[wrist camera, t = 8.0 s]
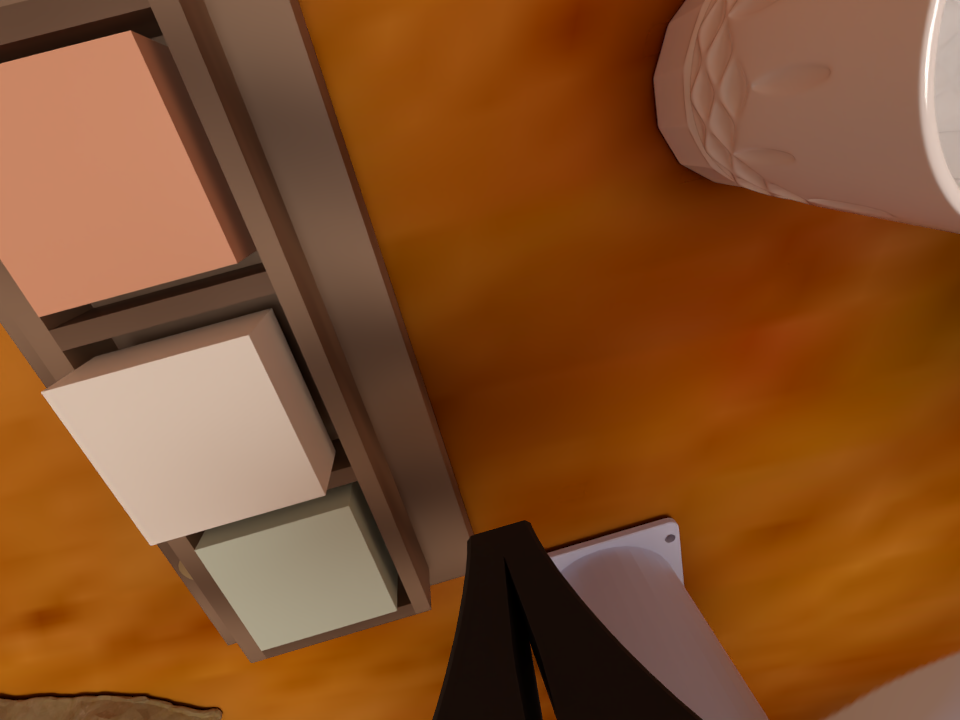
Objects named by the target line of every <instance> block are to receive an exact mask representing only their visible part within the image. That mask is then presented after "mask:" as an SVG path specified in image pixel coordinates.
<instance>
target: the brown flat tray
mask: <svg viewBox="0 0 960 720" xmlns="http://www.w3.org/2000/svg"><path fill="white" fill-rule="evenodd" d="M130 30H131V31H133V32H135V33H138V34H140V35H142V36H145V37H147V38H149V39H151V40H154V41H156V42H158V43H160V44H163V45H165V46H167V47H169V50H170V52H171V54H172V56H173V59H174V61H175V63H176V66H177V68H178V70H179V72H180V75H181V77H182V79H183V82H184V84H185V86H186V89H187V91H188V93H189V95H190V98H191V100H192V102H193V105H194V107H195V109H196V111H197V114H198V116H199V118H200V121H201V123H202V125H203V127H204V130H205V132H206V134H207V137H208V139H209V141H210V143H211V146H212V148H213V150H214V153H215V155H216V157H217V160H218V162H219V164H220V166H221V169H222V171H223V173H224V176H225V178H226V180H227V182H228V185H229V187H230V189H231V192H232V194H233V196H234V198H235V201H236V203H237V205H238V208H239V210H240V212H241V215H242V217H243V219H244V221H245V224H246V226H247V228H248V231H249V233H250V235H251V237H252V240H253V242H254V244H255V247H256V249H257V251H255V252H254V253H252V254H251V255H249V256H248V257H246V258H245V259H243V260H242V261H240V262H239V263H237V264H233V265H229V266H226V267H222V268H218V269H215V270H211V271H207V272H204V273H200V274H196V275H193V276H189V277H185V278H181V279H178V280H174V281H170V282H167V283H163V284H159V285H156V286H152V287H148V288H145V289H141V290H137V291H134V292H130V293H126V294H123V295H119V296H115V297H112V298H108V299H104V300H100V301H97V302H93V303H89V304H86V305H82V306H78V307H75V308H71V309H67V310H64V311H60V312H56V313H53V314H49V315H45V316H42V317H38V315H37V314H36V312H35V311H34V309H33V308H32V306H31V305H30V303H29V302H28V300H27V299H26V297H25V296H24V294H23V293H22V291H21V290H20V288H19V287H18V285H17V284H16V282H15V281H14V279H13V278H12V276H11V275H10V273H9V272H8V270H7V269H6V267H5V266H4V264H3V263H2V261H1V260H0V323H1V324H2V326H3V327H4V328H5V330H6V331H7V333H8V334H9V335H10V337H11V338H12V340H13V341H14V343H15V344H16V345H17V347H18V348H19V350H20V351H21V352H22V354H23V355H24V357H25V358H26V360H27V361H28V362H29V364H30V365H31V367H32V368H33V369H34V371H35V372H36V374H37V375H38V377H39V378H40V379H41V381H42V382H43V384H44V385H45V386H46V388H48V387H50V386H51V385H53V384H54V383H56V382H57V381H59V380H60V379H62V378H63V377H65V376H66V375H68V374H69V373H71V372H72V371H74V370H76V369H77V368H79V367H80V366H82V365H83V364H85V363H86V362H88V361H89V360H91V359H92V358H94V357H95V356H99V355H102V354H106V353H110V352H113V351H117V350H120V349H124V348H128V347H131V346H135V345H139V344H142V343H146V342H150V341H153V340H157V339H160V338H164V337H168V336H171V335H175V334H179V333H182V332H186V331H190V330H193V329H197V328H200V327H204V326H208V325H211V324H215V323H219V322H222V321H226V320H230V319H233V318H237V317H240V316H244V315H248V314H251V313H255V312H259V311H262V310H266V309H270V308H272V309H273V312H274V314H275V316H276V318H277V321H278V323H279V325H280V327H281V330H282V332H283V334H284V336H285V339H286V341H287V343H288V345H289V348H290V350H291V352H292V354H293V357H294V359H295V361H296V363H297V365H298V368H299V370H300V372H301V374H302V377H303V379H304V381H305V383H306V386H307V388H308V390H309V392H310V395H311V397H312V399H313V401H314V404H315V406H316V408H317V410H318V413H319V415H320V417H321V419H322V422H323V424H324V426H325V428H326V430H327V433H328V435H329V437H330V439H331V442H332V444H333V446H334V448H335V451H336V453H335V457H334V461H333V466H332V470H331V474H330V478H329V483H328V487H327V490H328V489H331V488H335V487H338V486H342V485H345V484H349V483H352V482H356V481H358V482H359V485H360V487H361V489H362V492H363V494H364V496H365V499H366V501H367V503H368V505H369V508H370V510H371V512H372V515H373V517H374V519H375V521H376V524H377V526H378V528H379V531H380V533H381V535H382V537H383V540H384V542H385V544H386V547H387V549H388V551H389V554H390V556H391V558H392V560H393V563H394V565H395V567H396V570H397V572H398V589H397V611H395V612H392V613H388V614H385V615H382V616H378V617H375V618H371V619H368V620H365V621H361V622H358V623H355V624H351V625H348V626H344V627H341V628H338V629H334V630H331V631H328V632H324V633H321V634H317V635H314V636H311V637H307V638H304V639H301V640H297V641H294V642H290V643H287V644H284V645H280V646H277V647H274V648H270V649H267V650H263V651H261V650H260V648H259V647H258V645H257V644H256V642H255V641H254V639H253V638H252V636H251V635H250V633H249V632H248V630H247V629H246V627H245V626H244V624H243V623H242V621H241V620H240V618H239V617H238V615H237V614H236V612H235V611H234V609H233V608H232V606H231V605H230V603H229V602H228V600H227V599H226V597H225V596H224V594H223V593H222V591H221V590H220V588H219V587H218V585H217V584H216V582H215V581H214V579H213V578H212V576H211V575H210V573H209V572H208V570H207V569H206V567H205V566H204V564H203V563H202V561H201V560H200V558H199V557H198V555H197V554H196V552H195V551H194V550H195V549H196V547H197V545H198V543H199V541H200V539H201V537H202V535H203V533H204V532H205V530H204V531H200V532H197V533H193V534H190V535H186V536H183V537H179V538H176V539H172V540H169V541H165V542H162V543H158V544H157V545H158V547H159V548H160V549H161V551H162V552H163V554H164V555H165V557H166V558H167V559H168V561H169V562H170V564H171V565H172V566H173V568H174V569H175V571H176V572H177V574H178V575H179V576H180V578H181V579H182V581H183V582H184V583H185V585H186V586H187V588H188V589H189V591H190V592H191V593H192V595H193V596H194V598H195V599H196V600H197V602H198V603H199V605H200V606H201V608H202V609H203V610H204V612H205V613H206V615H207V616H208V617H209V619H210V620H211V622H212V623H213V625H214V626H215V627H216V629H217V630H218V632H219V633H220V635H221V636H222V637H223V639H224V640H225V642H226V643H227V644H228V645H231V644H234V643H238V645H239V646H240V648H241V649H242V651H243V652H244V654H245V655H246V656H247V658H248V659H249V661H250V662H251V663H253V662H257V661H260V660H263V659H267V658H270V657H274V656H277V655H280V654H284V653H287V652H290V651H294V650H297V649H300V648H304V647H307V646H311V645H314V644H317V643H321V642H324V641H327V640H331V639H334V638H338V637H341V636H344V635H348V634H351V633H354V632H358V631H361V630H364V629H368V628H371V627H375V626H378V625H381V624H385V623H388V622H391V621H395V620H398V619H402V618H405V617H408V616H412V615H415V614H418V613H422V612H425V611H428V610H431V595H430V586H431V585H434V584H438V583H441V582H444V581H448V580H451V579H454V578H458V577H461V576H465V572H466V561H467V541H468V539H469V538H470V536H472V535H474V534H473V531H472V528H471V525H470V522H469V519H468V516H467V513H466V509H465V506H464V503H463V500H462V497H461V494H460V491H459V488H458V485H457V482H456V479H455V476H454V473H453V470H452V467H451V464H450V461H449V458H448V455H447V452H446V449H445V446H444V443H443V440H442V437H441V433H440V430H439V427H438V424H437V421H436V418H435V415H434V412H433V409H432V406H431V403H430V400H429V397H428V394H427V391H426V388H425V385H424V382H423V379H422V376H421V373H420V370H419V367H418V364H417V361H416V357H415V354H414V351H413V348H412V345H411V342H410V339H409V336H408V333H407V330H406V327H405V324H404V321H403V318H402V315H401V312H400V309H399V306H398V303H397V300H396V297H395V294H394V291H393V288H392V285H391V281H390V278H389V275H388V272H387V269H386V266H385V263H384V260H383V257H382V254H381V251H380V248H379V245H378V242H377V239H376V236H375V233H374V230H373V227H372V224H371V221H370V218H369V215H368V212H367V209H366V205H365V202H364V199H363V196H362V193H361V190H360V187H359V184H358V181H357V178H356V175H355V172H354V169H353V166H352V163H351V160H350V157H349V154H348V151H347V148H346V145H345V142H344V139H343V136H342V133H341V129H340V126H339V123H338V120H337V117H336V114H335V111H334V108H333V105H332V102H331V99H330V96H329V93H328V90H327V87H326V84H325V81H324V78H323V75H322V72H321V69H320V66H319V63H318V60H317V57H316V53H315V50H314V47H313V44H312V41H311V38H310V35H309V32H308V29H307V26H306V23H305V20H304V17H303V14H302V11H301V8H300V5H299V2H298V0H0V64H1V63H4V62H8V61H12V60H16V59H20V58H24V57H28V56H32V55H36V54H40V53H44V52H48V51H52V50H55V49H59V48H63V47H67V46H71V45H75V44H79V43H83V42H87V41H91V40H95V39H99V38H102V37H106V36H110V35H114V34H118V33H122V32H126V31H130Z"/></svg>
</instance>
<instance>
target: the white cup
mask: <svg viewBox="0 0 960 720" xmlns="http://www.w3.org/2000/svg"><path fill="white" fill-rule="evenodd" d="M653 81H654V91H655V102H656V112H657V122H658V128H659V130H660V131H661V133H662V135H663V136H664V138H665V140H666V141H667V143H668V145H669V146H670V148H671V150H672V151H673V153H674V155H675V157H676V158H677V160H678V162H679V163H680V164H681V165H683V166H685V167H687V168H689V169H690V170H692V171H694V172H696V173H698V174H700V175H702V176H704V177H705V178H707V179H709V180H711V181H713V182H716V183H721V184H727V185H733V186H739V187H744V188H747V189H750V190H753V191H756V192H759V193H762V194H766V195H770V196H773V197H778V198H784V199H790V200H795V201H798V202H802V203H806V204H809V205H813V206H818V207H822V208H827V209H832V210H838V211H843V212H848V213H853V214H859V215H864V216H869V217H874V218H879V219H885V220H890V221H895V222H900V223H905V224H911V225H916V226H921V227H926V228H931V229H936V230H941V231H946V232H951V233H956V234H960V0H685V2H684V3H683V5H682V6H681V7H680V9H679V10H678V12H677V13H676V14H675V16H674V17H673V18H672V20H671V21H670V23H669V24H668V27H667V31H666V34H665V38H664V41H663V45H662V48H661V52H660V56H659V59H658V63H657V66H656V70H655V73H654V77H653Z"/></svg>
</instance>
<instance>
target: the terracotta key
mask: <svg viewBox="0 0 960 720" xmlns="http://www.w3.org/2000/svg"><path fill="white" fill-rule="evenodd" d="M255 251H257V249H256V247H255V244H254V242H253V240H252V237H251V235H250V233H249V231H248V228H247V226H246V224H245V221H244V219H243V217H242V215H241V212H240V210H239V208H238V205H237V203H236V201H235V198H234V196H233V194H232V192H231V189H230V187H229V185H228V182H227V180H226V178H225V176H224V173H223V171H222V169H221V166H220V164H219V162H218V160H217V157H216V155H215V153H214V150H213V148H212V146H211V143H210V141H209V139H208V137H207V134H206V132H205V130H204V127H203V125H202V123H201V121H200V118H199V116H198V114H197V111H196V109H195V107H194V105H193V102H192V100H191V98H190V95H189V93H188V91H187V89H186V86H185V84H184V82H183V79H182V77H181V75H180V72H179V70H178V68H177V66H176V63H175V61H174V59H173V56H172V54H171V52H170V50H169V47H167V46H165V45H163V44H160V43H158V42H156V41H154V40H151V39H149V38H147V37H145V36H142V35H140V34H138V33H135V32H133V31H131V30H130V31H126V32H122V33H118V34H114V35H110V36H106V37H102V38H99V39H95V40H91V41H87V42H83V43H79V44H75V45H71V46H67V47H63V48H59V49H55V50H52V51H48V52H44V53H40V54H36V55H32V56H28V57H24V58H20V59H16V60H12V61H8V62H4V63H1V64H0V260H1V261H2V263H3V264H4V266H5V267H6V269H7V270H8V272H9V273H10V275H11V276H12V278H13V279H14V281H15V282H16V284H17V285H18V287H19V288H20V290H21V291H22V293H23V294H24V296H25V297H26V299H27V300H28V302H29V303H30V305H31V306H32V308H33V309H34V311H35V312H36V314H37V315H38V317H42V316H45V315H49V314H53V313H56V312H60V311H64V310H67V309H71V308H75V307H78V306H82V305H86V304H89V303H93V302H97V301H100V300H104V299H108V298H112V297H115V296H119V295H123V294H126V293H130V292H134V291H137V290H141V289H145V288H148V287H152V286H156V285H159V284H163V283H167V282H170V281H174V280H178V279H181V278H185V277H189V276H193V275H196V274H200V273H204V272H207V271H211V270H215V269H218V268H222V267H226V266H229V265H233V264H237V263H239V262H240V261H242V260H243V259H245V258H246V257H248V256H249V255H251V254H252V253H254V252H255Z"/></svg>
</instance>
